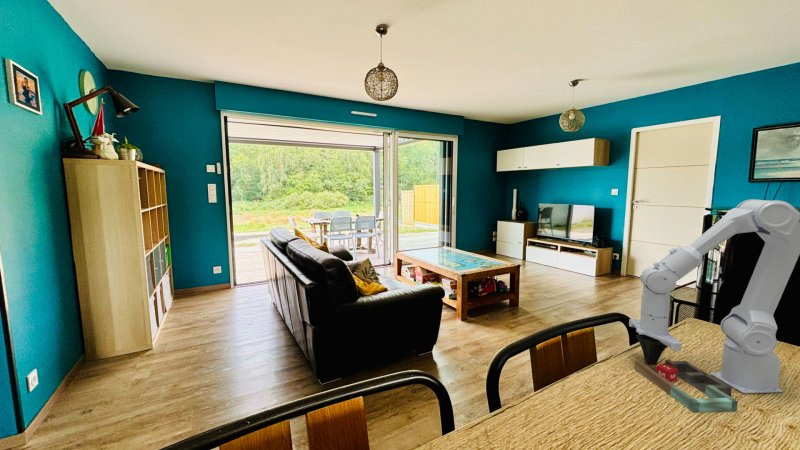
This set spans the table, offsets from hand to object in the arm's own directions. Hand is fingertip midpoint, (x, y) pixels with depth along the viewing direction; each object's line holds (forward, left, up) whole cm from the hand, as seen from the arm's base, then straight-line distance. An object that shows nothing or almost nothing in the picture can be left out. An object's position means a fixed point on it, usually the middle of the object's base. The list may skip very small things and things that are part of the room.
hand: (650, 363), depth 85 cm
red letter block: (0, +5, -1) cm, 5 cm away
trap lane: (-2, +9, -1) cm, 9 cm away
